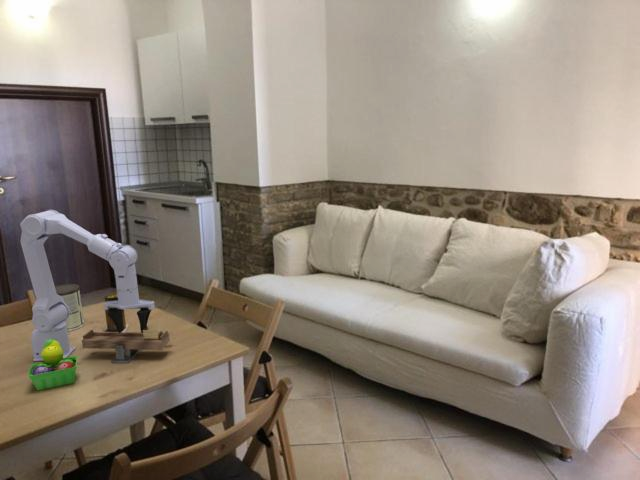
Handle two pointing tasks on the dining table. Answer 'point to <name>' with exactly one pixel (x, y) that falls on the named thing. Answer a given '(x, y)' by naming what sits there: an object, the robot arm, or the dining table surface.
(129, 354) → the pivot stand
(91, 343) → the balance beam
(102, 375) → the dining table surface
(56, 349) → the fruit basket
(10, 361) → the dining table surface
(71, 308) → the coffee can
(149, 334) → the wooden cube block
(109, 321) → the condiment
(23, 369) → the dining table surface
